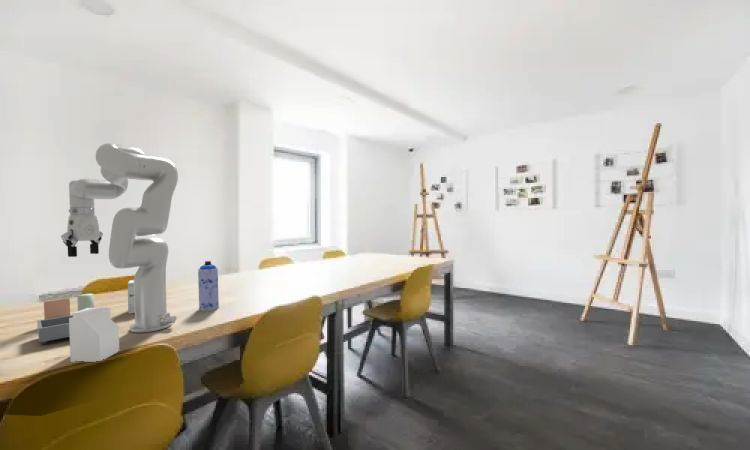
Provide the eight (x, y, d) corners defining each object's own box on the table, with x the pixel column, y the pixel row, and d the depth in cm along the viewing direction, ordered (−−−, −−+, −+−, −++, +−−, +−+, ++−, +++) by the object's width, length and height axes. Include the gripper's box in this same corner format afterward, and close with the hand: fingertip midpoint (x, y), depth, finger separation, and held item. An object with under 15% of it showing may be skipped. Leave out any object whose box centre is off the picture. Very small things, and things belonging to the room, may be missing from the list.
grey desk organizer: (88, 336, 116) (87, 309, 115) (39, 346, 107) (38, 317, 107) (78, 319, 134) (77, 296, 134) (35, 326, 126) (34, 302, 126)
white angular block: (89, 347, 107) (87, 308, 107) (127, 346, 107) (125, 307, 107) (58, 362, 96) (56, 318, 96) (100, 361, 97) (98, 318, 96)
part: (97, 313, 144) (96, 293, 144) (86, 316, 139) (85, 296, 139) (86, 313, 144) (85, 293, 144) (74, 316, 139) (73, 296, 139)
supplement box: (127, 314, 142) (126, 283, 141) (130, 309, 148) (129, 279, 148) (149, 311, 145) (148, 281, 145) (151, 307, 152) (150, 278, 151)
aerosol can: (219, 305, 155) (218, 259, 154) (219, 309, 148) (218, 261, 147) (199, 307, 152) (197, 260, 151) (198, 311, 145) (196, 263, 144)
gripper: (70, 212, 131) (72, 258, 132) (109, 212, 148) (110, 252, 149) (52, 212, 132) (53, 257, 132) (92, 212, 149) (93, 252, 150)
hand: (83, 255), depth 141 cm, fingers open, 9 cm apart
